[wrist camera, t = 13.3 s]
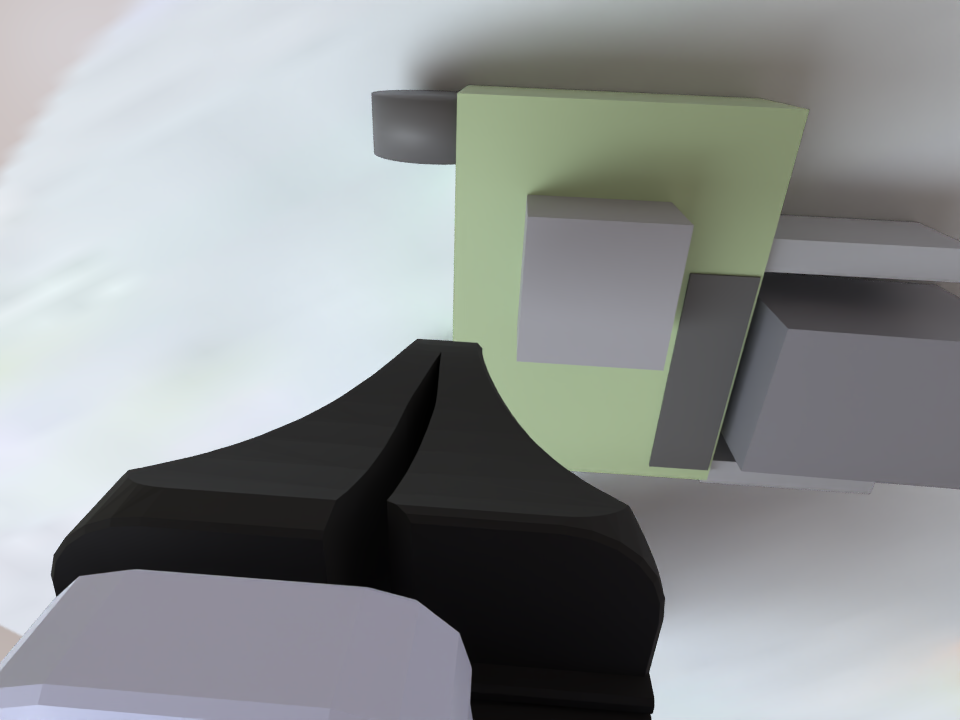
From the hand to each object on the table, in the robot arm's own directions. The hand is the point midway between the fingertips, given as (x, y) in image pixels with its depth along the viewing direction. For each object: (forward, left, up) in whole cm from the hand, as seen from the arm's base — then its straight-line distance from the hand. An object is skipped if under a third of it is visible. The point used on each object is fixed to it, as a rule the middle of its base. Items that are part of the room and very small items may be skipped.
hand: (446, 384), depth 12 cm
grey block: (-3, -12, -10) cm, 16 cm away
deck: (-1, -6, -10) cm, 11 cm away
